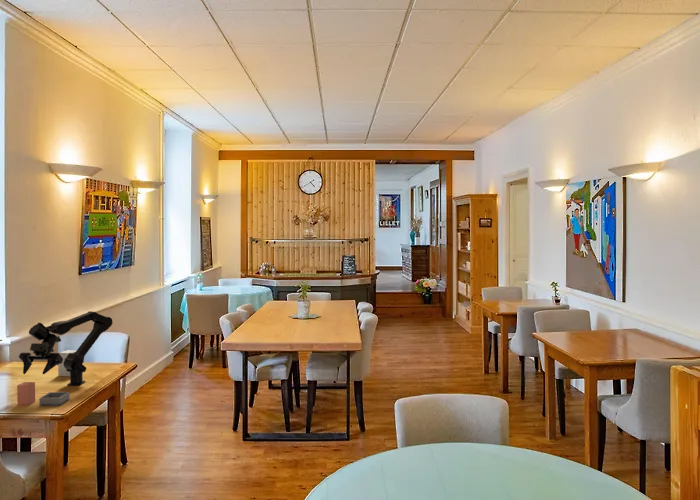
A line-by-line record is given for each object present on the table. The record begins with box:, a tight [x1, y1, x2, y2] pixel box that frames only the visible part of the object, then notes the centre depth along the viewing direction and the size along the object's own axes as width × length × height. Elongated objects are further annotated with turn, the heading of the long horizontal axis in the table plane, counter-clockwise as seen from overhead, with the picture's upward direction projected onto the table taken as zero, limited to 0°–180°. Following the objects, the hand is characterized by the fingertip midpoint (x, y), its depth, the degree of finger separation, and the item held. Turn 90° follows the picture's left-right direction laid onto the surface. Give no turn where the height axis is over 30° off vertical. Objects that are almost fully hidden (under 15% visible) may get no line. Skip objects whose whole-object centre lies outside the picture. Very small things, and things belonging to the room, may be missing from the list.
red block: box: [16, 381, 36, 406], centre depth 241 cm, size 5×5×9 cm
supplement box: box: [57, 349, 77, 377], centre depth 289 cm, size 7×7×13 cm
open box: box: [38, 391, 70, 407], centre depth 242 cm, size 9×9×4 cm
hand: (33, 373), depth 247 cm, fingers open, 9 cm apart
